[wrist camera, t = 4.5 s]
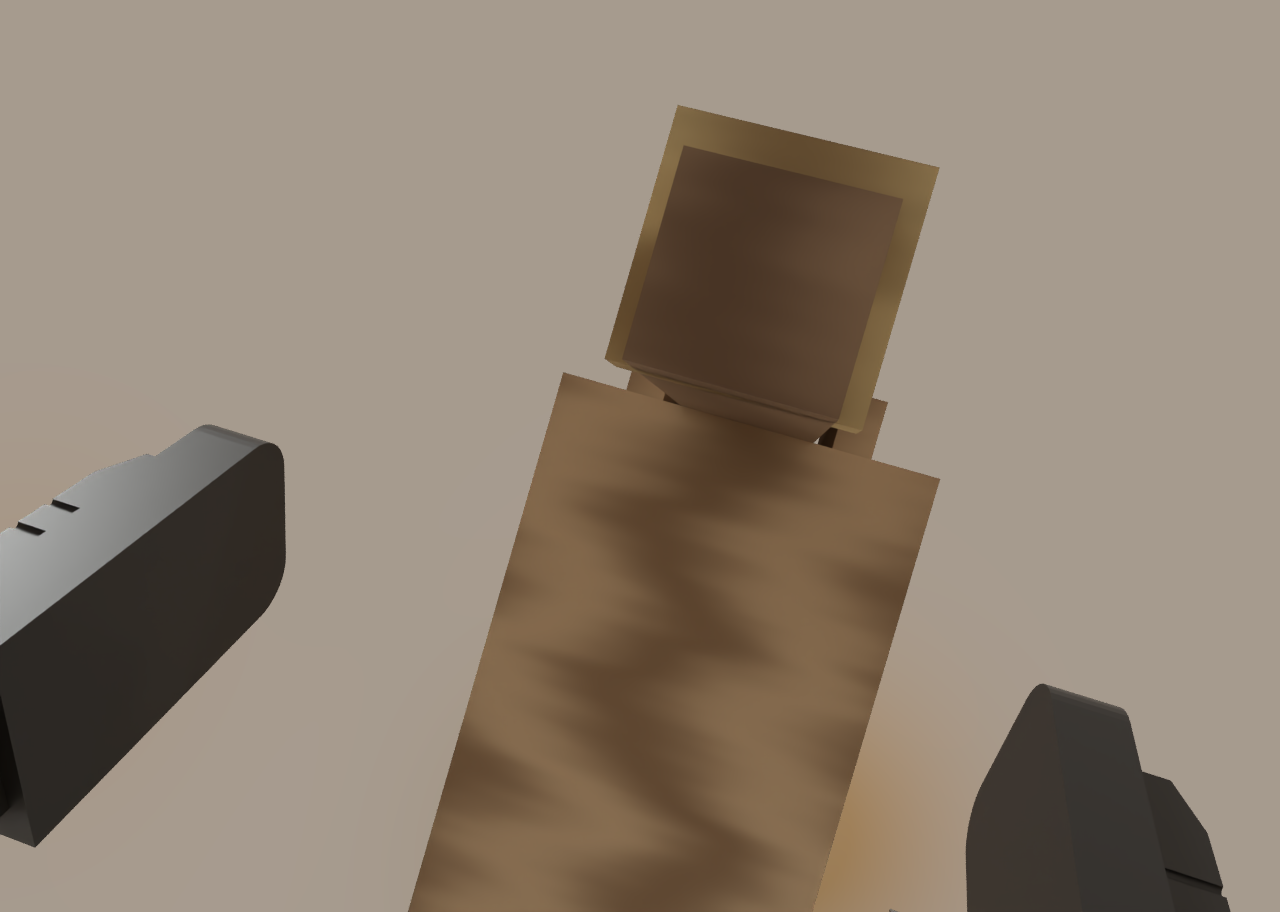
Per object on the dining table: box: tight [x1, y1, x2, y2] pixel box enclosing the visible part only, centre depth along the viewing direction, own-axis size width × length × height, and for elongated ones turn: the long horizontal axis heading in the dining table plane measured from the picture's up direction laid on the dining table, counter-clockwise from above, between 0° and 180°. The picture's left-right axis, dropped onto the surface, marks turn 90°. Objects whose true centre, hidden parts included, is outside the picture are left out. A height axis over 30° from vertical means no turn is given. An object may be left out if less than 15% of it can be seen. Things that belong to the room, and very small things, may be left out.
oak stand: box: [408, 371, 940, 912], centre depth 31 cm, size 10×12×34 cm
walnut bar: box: [605, 105, 939, 443], centre depth 30 cm, size 4×30×4 cm, turn 171°
